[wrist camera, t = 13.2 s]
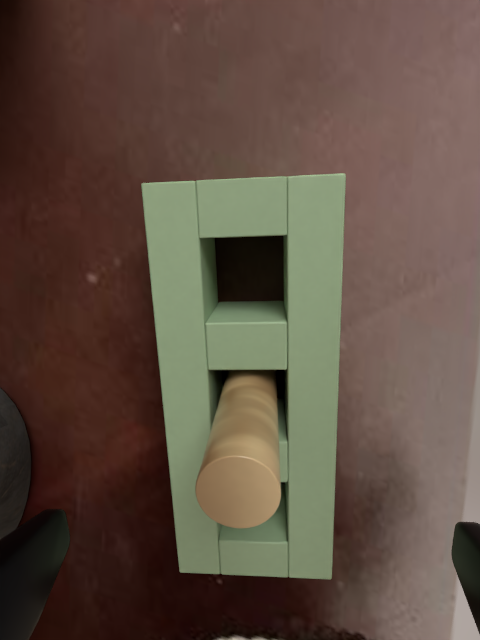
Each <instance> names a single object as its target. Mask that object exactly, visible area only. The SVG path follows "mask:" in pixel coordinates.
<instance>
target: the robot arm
mask: <svg viewBox="0 0 480 640" xmlns="http://www.w3.org/2000/svg"><path fill="white" fill-rule="evenodd" d="M69 544H70V533H69V528H68V523H67V518H66V513H65V512H64V510H61V509H47V510H44V511H43V512H41V513H40V514H38V515H36V516H35V517H33V518H32V519H30V520H29V521H27V522H26V523H24V524H23V525H21V526H20V527H18V528H17V529H15V530H14V531H12V532H11V533H9V534H7V535H6V536H4V537H3V538H1V539H0V640H29V638H30V636H31V634H32V632H33V630H34V628H35V626H36V624H37V622H38V620H39V617H40V615H41V613H42V611H43V608H44V606H45V604H46V601H47V599H48V596H49V594H50V591H51V589H52V587H53V584H54V582H55V579H56V577H57V575H58V572H59V570H60V567H61V565H62V562H63V560H64V558H65V555H66V553H67V550H68V548H69ZM452 560H453V564H454V567H455V569H456V572H457V575H458V577H459V580H460V583H461V585H462V588H463V591H464V593H465V596H466V599H467V601H468V604H469V607H470V609H471V612H472V615H473V617H474V620H475V623H476V625H477V628H478V631H479V634H480V524H478V523H474V522H458V523H457V524H456V525H455V530H454V537H453V545H452Z"/></svg>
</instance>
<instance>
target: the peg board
mask: <svg viewBox="0 0 480 640" xmlns="http://www.w3.org/2000/svg"><path fill="white" fill-rule="evenodd" d="M345 184H346V175H345V174H344V173H342V174H321V175H301V176H288V177H286V176H278V177H258V178H237V179H216V180H197V181H196V182H195V181H178V182H157V183H143V184H142V185H141V188H142V198H143V208H144V218H145V228H146V238H147V248H148V259H149V269H150V279H151V289H152V299H153V309H154V319H155V329H156V339H157V350H158V360H159V370H160V380H161V390H162V400H163V410H164V420H165V430H166V441H167V451H168V461H169V471H170V481H171V491H172V501H173V511H174V521H175V532H176V542H177V552H178V562H179V571H180V572H181V573H204V574H220V572H221V574H225V575H247V576H270V577H288V576H289V577H290V578H311V579H332V559H333V530H334V501H335V472H336V443H337V415H338V386H339V357H340V328H341V299H342V270H343V241H344V212H345ZM254 236H283V253H284V302H283V301H240V302H219V303H218V288H217V269H216V250H215V238H226V237H254ZM222 370H284V399H277V406H278V430H279V454H280V478H281V482H285V485H284V484H281V500H280V504H279V506H278V508H277V510H276V512H275V513H274V514H273V515H272V516H271V517H270V518H269V519H268V520H267V521H265V522H264V523H262V524H260V525H257V526H255V527H250V528H232V527H227V526H224V525H222V524H219V523H217V522H216V521H214V520H212V519H211V518H210V517H209V516H207V515H206V514H205V512H204V511H203V510H202V508H201V507H200V505H199V503H198V501H197V497H196V492H195V486H196V480H197V477H198V473H199V470H200V466H201V463H202V459H203V456H204V452H205V449H206V445H207V442H208V438H209V435H210V431H211V428H212V424H213V421H214V417H215V414H216V410H217V407H218V403H219V400H220V396H221V393H222V389H223V384H222Z"/></svg>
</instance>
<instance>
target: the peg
mask: <svg viewBox="0 0 480 640" xmlns="http://www.w3.org/2000/svg"><path fill="white" fill-rule="evenodd" d="M195 492H196V497H197V501H198V503H199V505H200V507H201V508H202V510H203V511H204V512H205V514H206V515H207V516H209V517H210V518H211V519H212V520H214V521H216V522H217V523H219V524H222V525H224V526H227V527H232V528H250V527H255V526H257V525H260V524H262V523H264V522H265V521H267V520H268V519H269V518H270V517H271V516H272V515H273V514H274V513H275V512H276V510H277V508H278V506H279V504H280V500H281V478H280V454H279V430H278V406H277V382H276V370H228V372H227V375H226V379H225V382H224V386H223V389H222V393H221V396H220V400H219V403H218V407H217V410H216V414H215V417H214V421H213V424H212V428H211V431H210V435H209V438H208V442H207V445H206V449H205V452H204V456H203V459H202V463H201V466H200V470H199V473H198V477H197V480H196V486H195Z"/></svg>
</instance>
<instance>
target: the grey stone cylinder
mask: <svg viewBox="0 0 480 640" xmlns="http://www.w3.org/2000/svg"><path fill="white" fill-rule="evenodd" d="M30 480H31V453H30V443H29V438H28V434H27V431H26V427H25V423H24V421H23V419H22V417H21V415H20V413H19V411H18V409H17V407H16V405H15V404H14V403H13V402H12V400H11V399H10V398H9V397H8V396H7V394H6V393H5V392H4V391H3V390H2V389H1V388H0V539H1V538H3V537H4V536H6V535H7V534H9V533H11V532H12V531H14V530H15V529H17V526H18V524H19V522H20V520H21V518H22V515H23V512H24V508H25V505H26V502H27V498H28V492H29V486H30Z"/></svg>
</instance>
